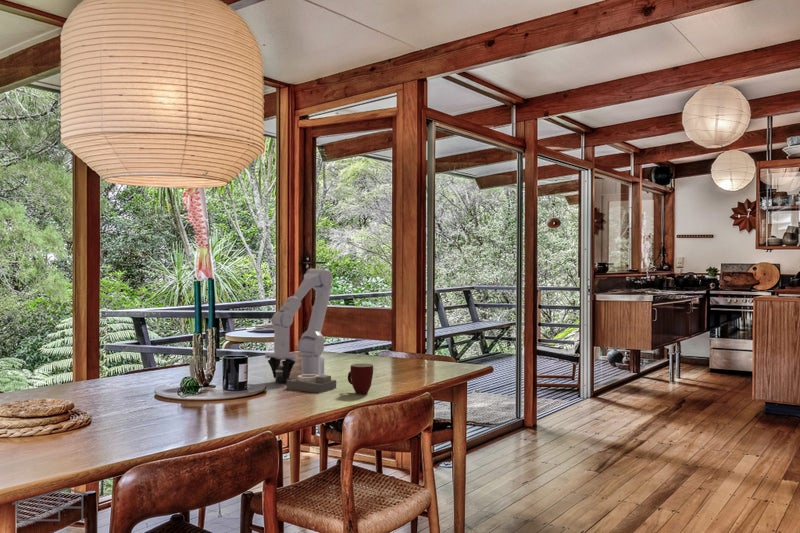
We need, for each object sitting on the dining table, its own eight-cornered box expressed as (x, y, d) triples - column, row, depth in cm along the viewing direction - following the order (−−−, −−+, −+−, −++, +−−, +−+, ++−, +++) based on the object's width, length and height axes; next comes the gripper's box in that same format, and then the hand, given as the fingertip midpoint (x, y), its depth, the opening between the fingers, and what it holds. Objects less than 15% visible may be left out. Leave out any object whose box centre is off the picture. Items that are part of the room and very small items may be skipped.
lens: (280, 380, 245) (280, 365, 245) (289, 382, 243) (290, 365, 243) (272, 382, 241) (272, 366, 241) (282, 383, 239) (282, 367, 239)
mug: (340, 393, 223) (340, 364, 223) (353, 389, 230) (353, 362, 230) (364, 396, 217) (364, 367, 217) (377, 392, 224) (377, 364, 224)
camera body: (303, 384, 238) (303, 371, 238) (336, 388, 232) (336, 374, 232) (286, 388, 230) (286, 375, 230) (320, 393, 223) (320, 378, 223)
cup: (197, 388, 227) (197, 361, 227) (184, 386, 232) (184, 359, 232) (216, 385, 234) (216, 358, 234) (203, 383, 239) (203, 356, 239)
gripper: (260, 342, 242) (259, 377, 242) (290, 345, 235) (290, 381, 235) (271, 340, 248) (271, 375, 248) (301, 343, 241) (301, 378, 241)
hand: (281, 378), depth 242 cm, fingers closed on lens, 4 cm apart
